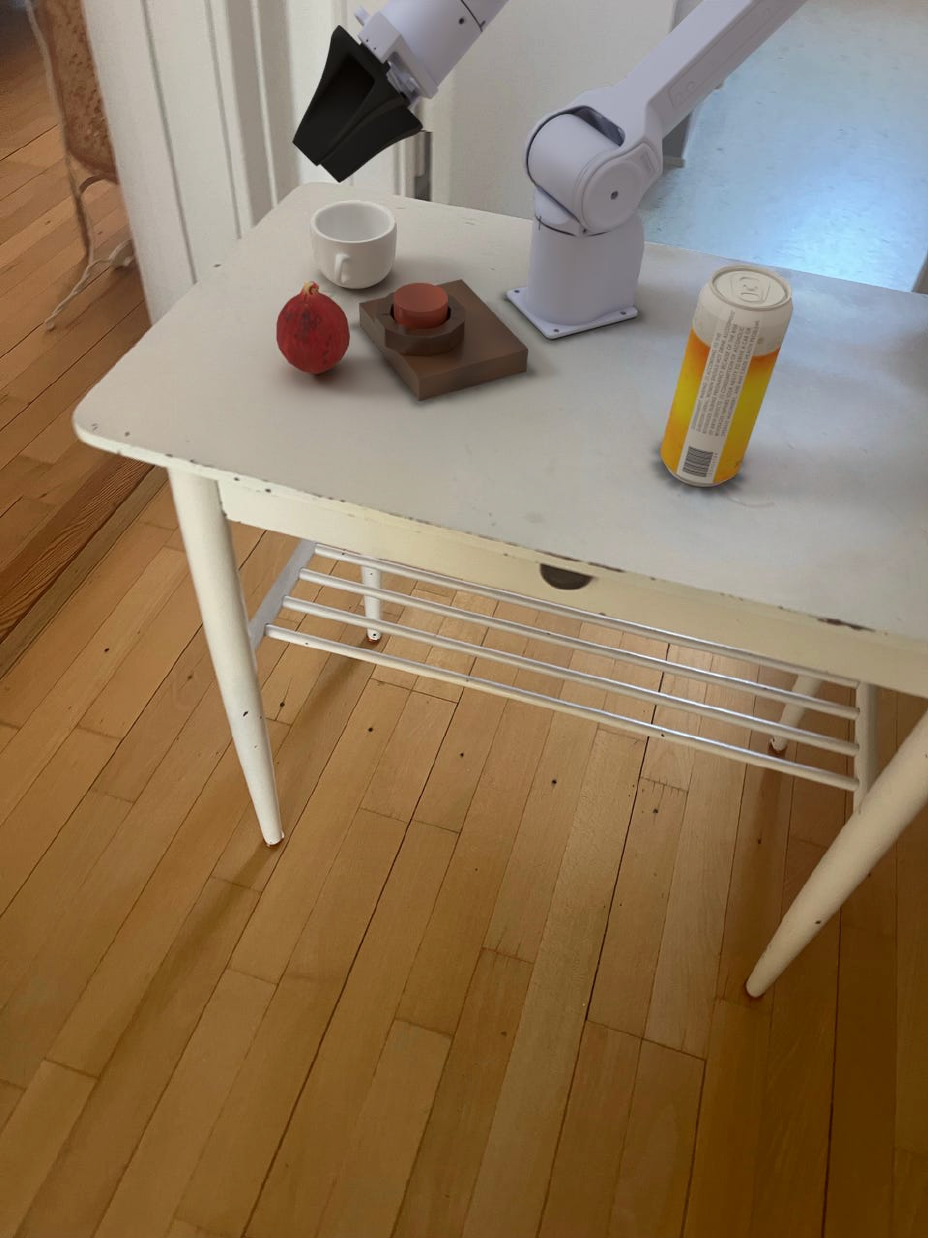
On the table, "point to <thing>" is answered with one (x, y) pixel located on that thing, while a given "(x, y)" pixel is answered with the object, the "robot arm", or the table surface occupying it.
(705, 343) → the beer can
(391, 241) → the teacup
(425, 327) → the button
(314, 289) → the red fruit
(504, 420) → the table surface
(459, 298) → the button box
